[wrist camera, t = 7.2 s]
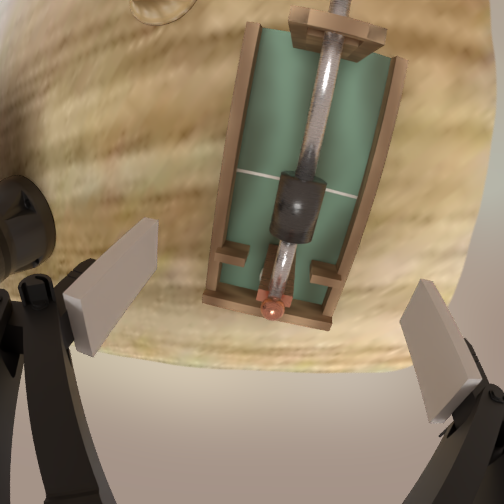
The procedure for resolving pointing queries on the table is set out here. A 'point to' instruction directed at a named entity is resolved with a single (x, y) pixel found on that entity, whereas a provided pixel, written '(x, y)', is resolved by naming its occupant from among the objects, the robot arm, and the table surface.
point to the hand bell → (159, 10)
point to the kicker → (301, 184)
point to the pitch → (287, 154)
